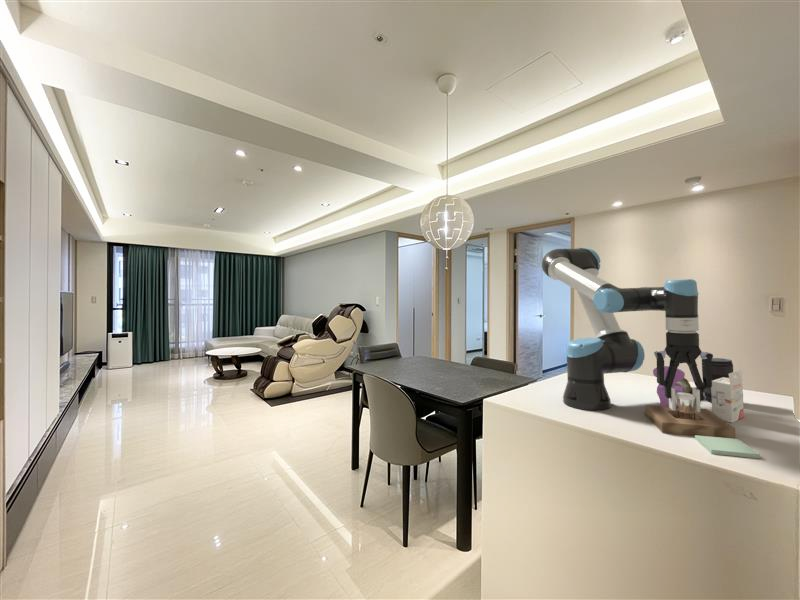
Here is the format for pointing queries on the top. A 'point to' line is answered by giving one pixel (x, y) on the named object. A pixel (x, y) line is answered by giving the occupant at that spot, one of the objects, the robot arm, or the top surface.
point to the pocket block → (689, 422)
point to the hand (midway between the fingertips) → (684, 409)
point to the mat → (726, 446)
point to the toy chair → (678, 376)
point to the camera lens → (718, 372)
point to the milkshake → (685, 405)
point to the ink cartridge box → (728, 397)
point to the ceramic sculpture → (685, 386)
